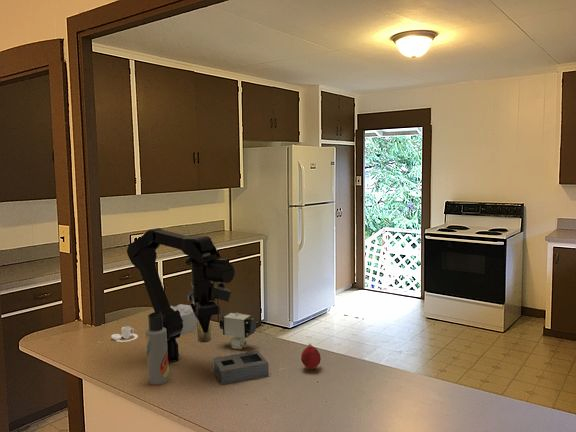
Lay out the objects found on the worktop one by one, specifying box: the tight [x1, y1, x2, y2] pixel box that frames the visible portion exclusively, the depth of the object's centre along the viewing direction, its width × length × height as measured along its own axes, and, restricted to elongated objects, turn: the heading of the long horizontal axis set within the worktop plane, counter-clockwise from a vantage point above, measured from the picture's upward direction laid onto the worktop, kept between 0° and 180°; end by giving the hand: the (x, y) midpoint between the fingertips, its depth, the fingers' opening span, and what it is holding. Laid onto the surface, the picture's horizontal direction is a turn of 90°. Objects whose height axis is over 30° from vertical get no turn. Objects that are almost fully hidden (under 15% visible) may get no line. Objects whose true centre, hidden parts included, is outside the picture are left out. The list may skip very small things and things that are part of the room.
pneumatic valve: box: [219, 312, 257, 350], centre depth 165 cm, size 6×12×12 cm, turn 66°
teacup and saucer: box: [110, 325, 139, 343], centre depth 177 cm, size 9×8×4 cm
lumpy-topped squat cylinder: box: [170, 303, 197, 335], centre depth 184 cm, size 10×13×9 cm
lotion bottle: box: [145, 311, 170, 386], centre depth 141 cm, size 6×6×20 cm
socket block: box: [212, 350, 270, 386], centre depth 145 cm, size 14×10×4 cm
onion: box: [300, 343, 322, 371], centre depth 146 cm, size 6×6×8 cm
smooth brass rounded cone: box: [196, 318, 212, 344], centre depth 147 cm, size 4×4×9 cm
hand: (204, 330), depth 147 cm, fingers closed on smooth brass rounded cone, 4 cm apart
